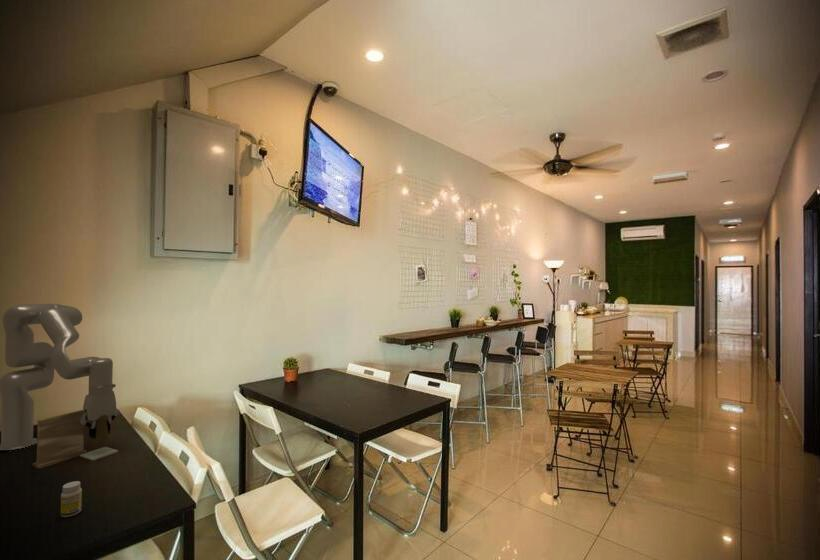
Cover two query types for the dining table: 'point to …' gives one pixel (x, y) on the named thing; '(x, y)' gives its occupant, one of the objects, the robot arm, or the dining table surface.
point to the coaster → (98, 453)
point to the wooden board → (59, 439)
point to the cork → (101, 430)
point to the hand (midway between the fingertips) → (99, 435)
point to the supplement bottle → (71, 499)
